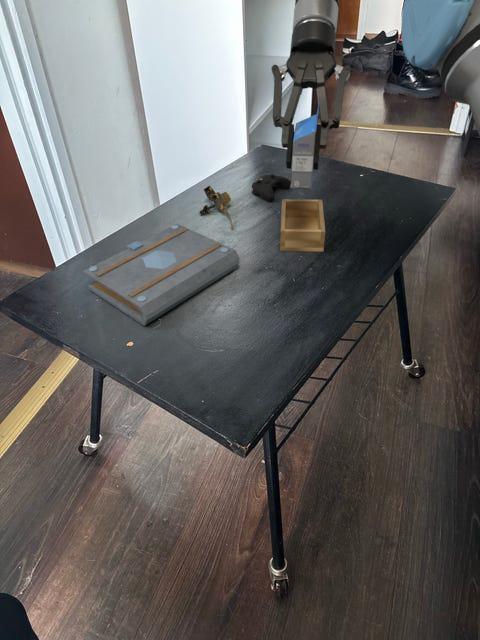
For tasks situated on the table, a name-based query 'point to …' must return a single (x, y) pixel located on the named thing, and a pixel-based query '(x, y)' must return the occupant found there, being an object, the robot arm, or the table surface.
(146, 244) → the book
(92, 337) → the table surface
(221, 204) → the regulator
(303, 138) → the blue cardboard box
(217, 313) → the table surface
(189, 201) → the table surface
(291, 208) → the tray
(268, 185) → the game controller
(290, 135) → the robot arm
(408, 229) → the table surface
